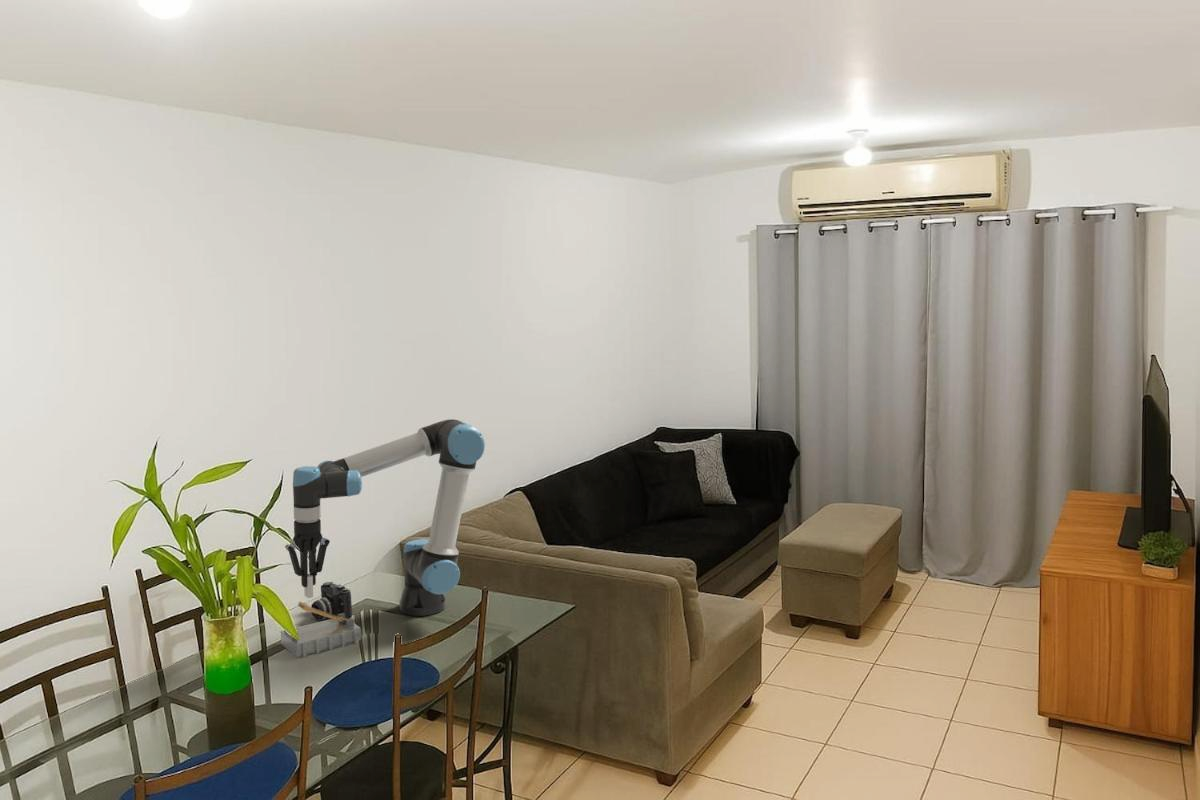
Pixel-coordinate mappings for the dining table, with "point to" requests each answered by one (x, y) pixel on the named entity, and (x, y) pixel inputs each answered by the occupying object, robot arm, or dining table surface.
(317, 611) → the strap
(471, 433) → the robot arm
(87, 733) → the dining table surface
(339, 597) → the camera
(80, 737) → the dining table surface
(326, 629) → the heatsink
